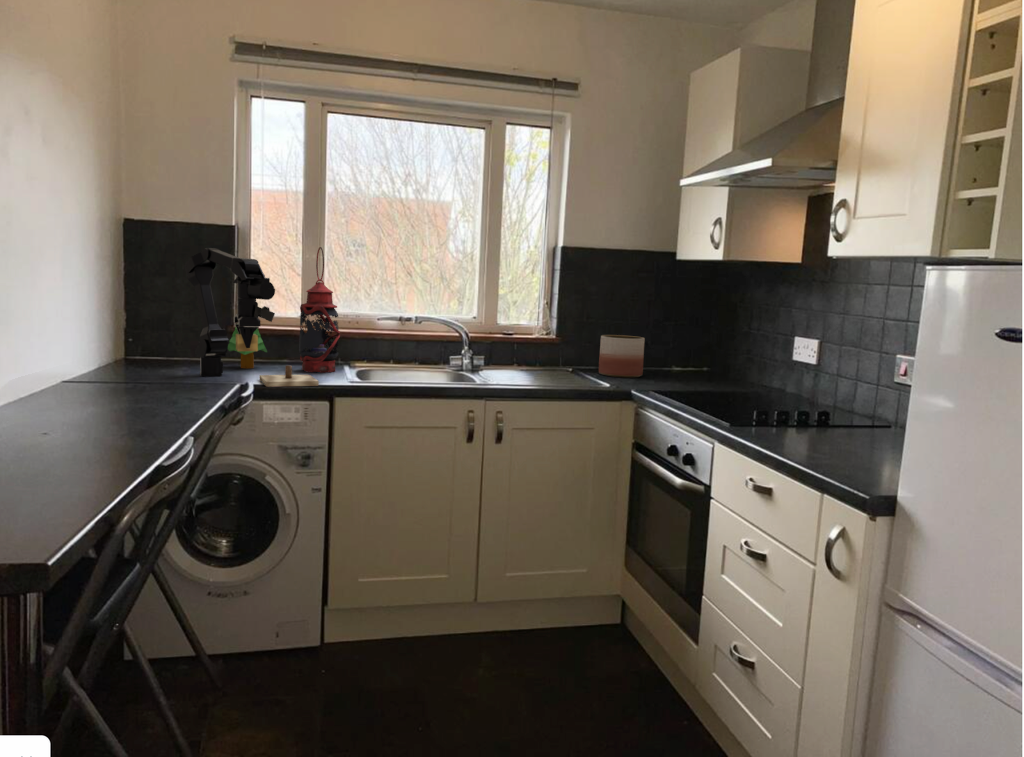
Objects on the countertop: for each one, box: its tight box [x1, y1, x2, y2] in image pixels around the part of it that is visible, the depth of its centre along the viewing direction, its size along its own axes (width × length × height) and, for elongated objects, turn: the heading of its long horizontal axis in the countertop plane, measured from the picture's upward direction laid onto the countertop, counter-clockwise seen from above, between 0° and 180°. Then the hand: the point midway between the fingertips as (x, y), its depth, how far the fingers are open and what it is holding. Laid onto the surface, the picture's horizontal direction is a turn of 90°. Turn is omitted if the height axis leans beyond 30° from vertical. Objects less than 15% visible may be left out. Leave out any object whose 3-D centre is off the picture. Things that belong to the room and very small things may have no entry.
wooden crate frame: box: [236, 334, 259, 352], centre depth 246 cm, size 6×6×5 cm
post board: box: [258, 364, 320, 388], centre depth 249 cm, size 16×16×6 cm
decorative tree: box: [227, 322, 268, 369], centre depth 280 cm, size 14×16×30 cm
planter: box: [598, 334, 646, 379], centre depth 311 cm, size 18×18×16 cm
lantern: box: [298, 246, 341, 374], centre depth 280 cm, size 16×15×45 cm
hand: (246, 347), depth 247 cm, fingers closed on wooden crate frame, 6 cm apart
